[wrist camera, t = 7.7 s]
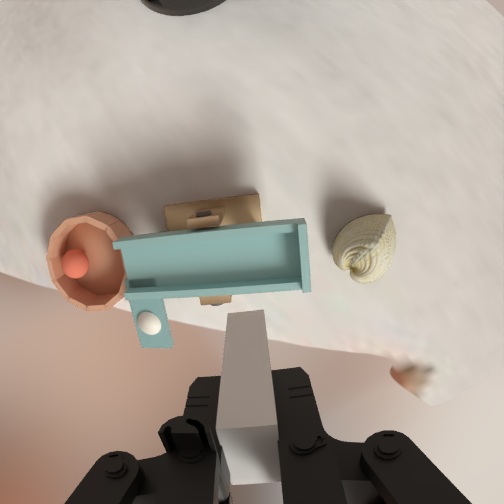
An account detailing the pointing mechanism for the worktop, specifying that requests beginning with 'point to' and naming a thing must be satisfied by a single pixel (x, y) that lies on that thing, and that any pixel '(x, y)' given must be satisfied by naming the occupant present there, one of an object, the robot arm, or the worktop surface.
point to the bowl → (90, 260)
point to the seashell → (366, 247)
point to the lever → (210, 267)
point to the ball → (75, 263)
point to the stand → (213, 221)
